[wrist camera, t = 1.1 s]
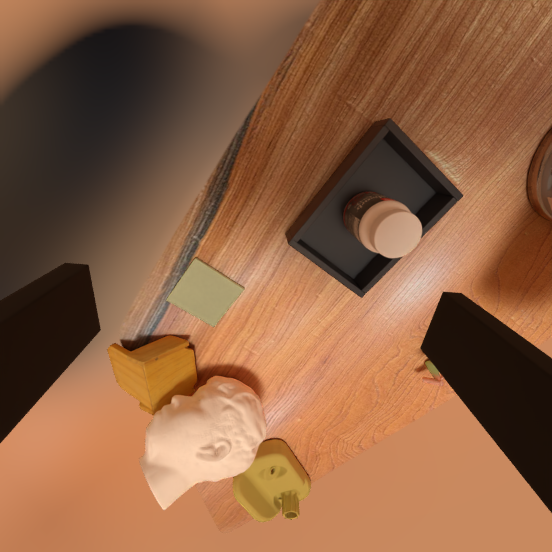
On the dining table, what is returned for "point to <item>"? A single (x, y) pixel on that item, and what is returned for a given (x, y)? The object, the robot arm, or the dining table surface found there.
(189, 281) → the mat
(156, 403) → the orange boxy piece
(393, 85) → the dining table surface
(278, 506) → the plastic component
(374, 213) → the pill bottle
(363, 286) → the tote
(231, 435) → the bust
